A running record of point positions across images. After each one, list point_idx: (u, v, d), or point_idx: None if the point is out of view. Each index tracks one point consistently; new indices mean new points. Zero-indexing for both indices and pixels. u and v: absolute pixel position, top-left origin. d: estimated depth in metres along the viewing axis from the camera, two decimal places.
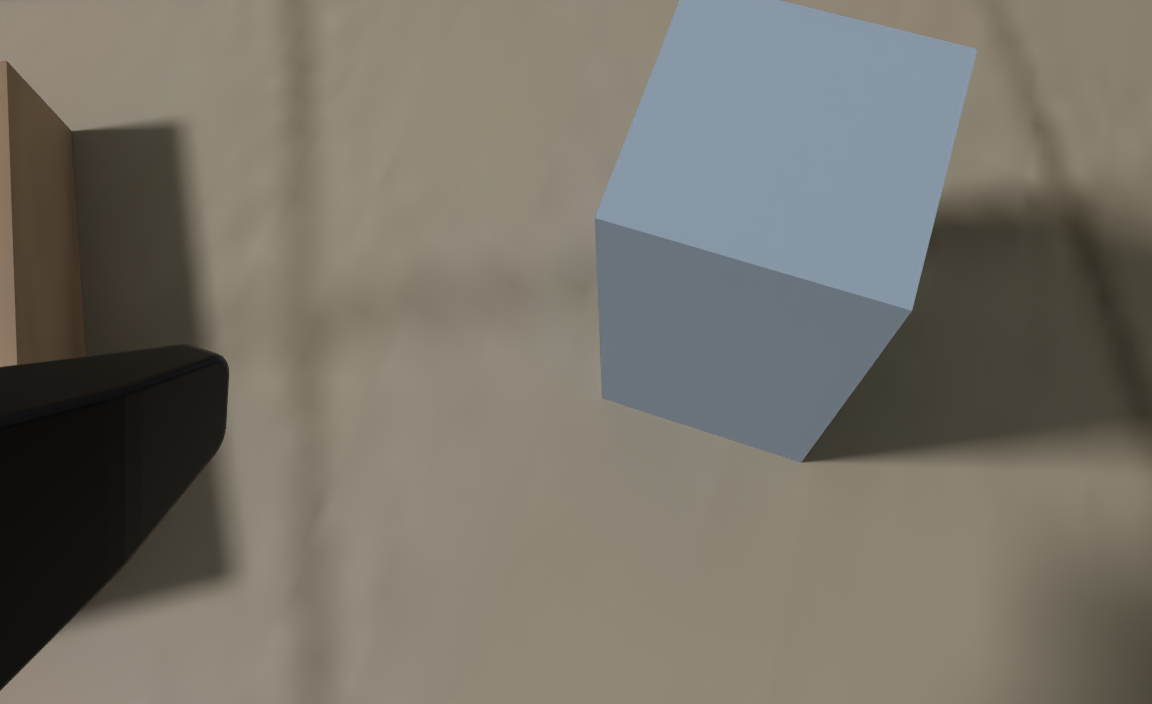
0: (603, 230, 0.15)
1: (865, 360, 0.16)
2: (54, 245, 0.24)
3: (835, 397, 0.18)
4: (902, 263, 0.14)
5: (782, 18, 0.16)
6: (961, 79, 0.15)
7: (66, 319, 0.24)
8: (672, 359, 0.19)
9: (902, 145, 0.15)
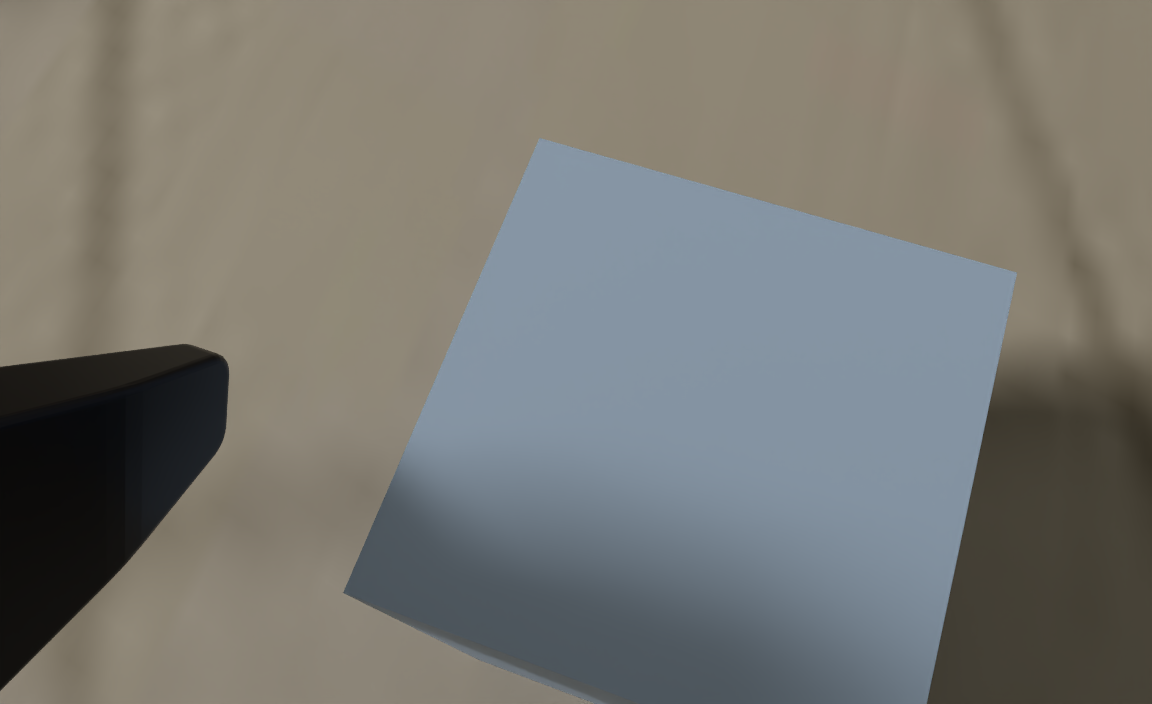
0: (366, 602, 0.09)
1: None
2: None
3: None
4: (888, 701, 0.08)
5: (690, 212, 0.10)
6: (990, 329, 0.09)
7: None
8: (546, 680, 0.13)
9: (889, 455, 0.09)
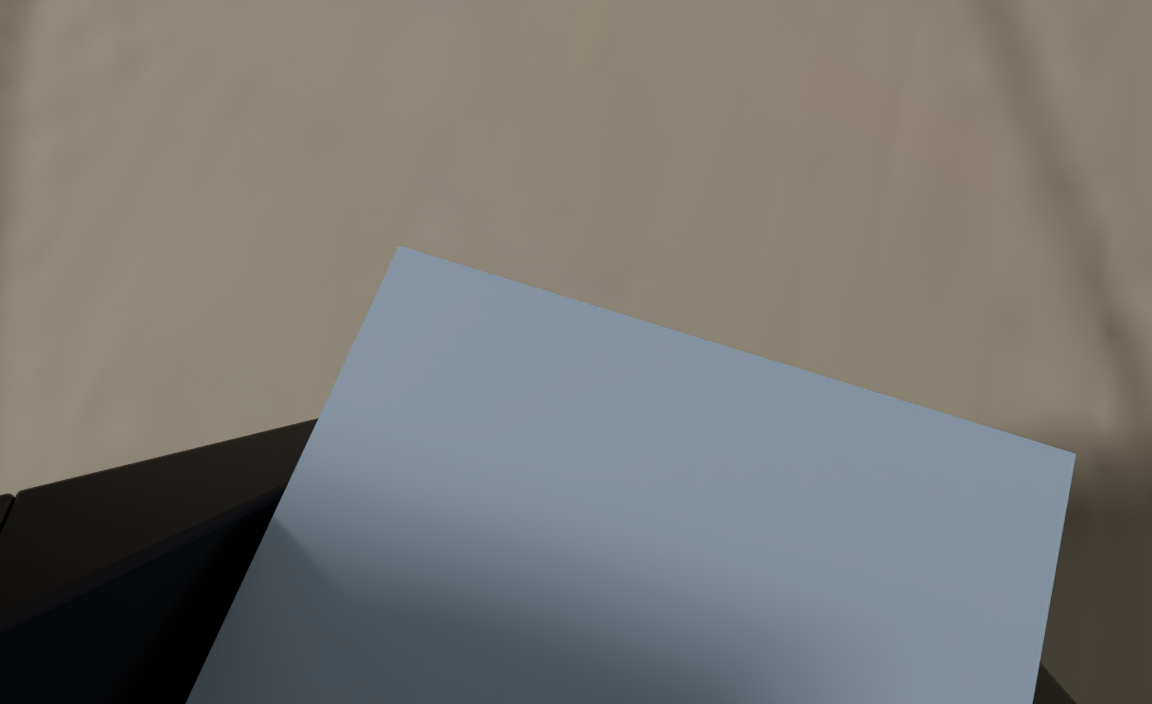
0: None
1: None
2: None
3: None
4: None
5: (606, 357, 0.07)
6: (1039, 545, 0.06)
7: None
8: None
9: None
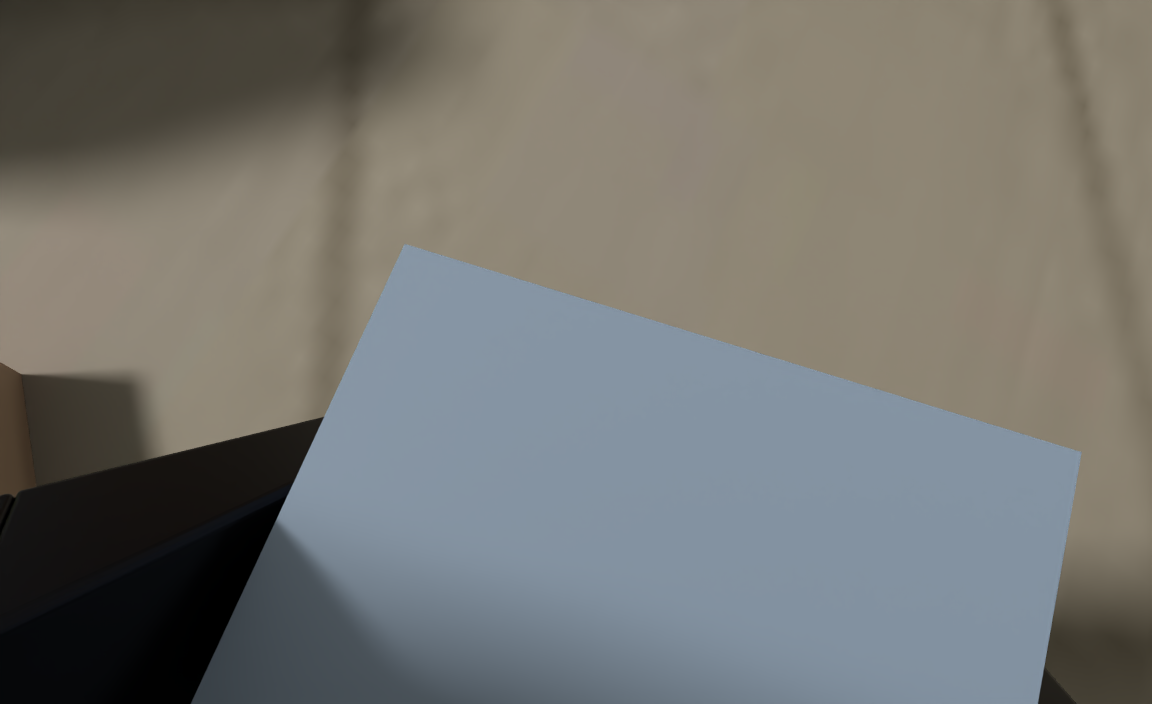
0: None
1: None
2: None
3: None
4: None
5: (611, 355, 0.07)
6: (1045, 543, 0.06)
7: None
8: None
9: None
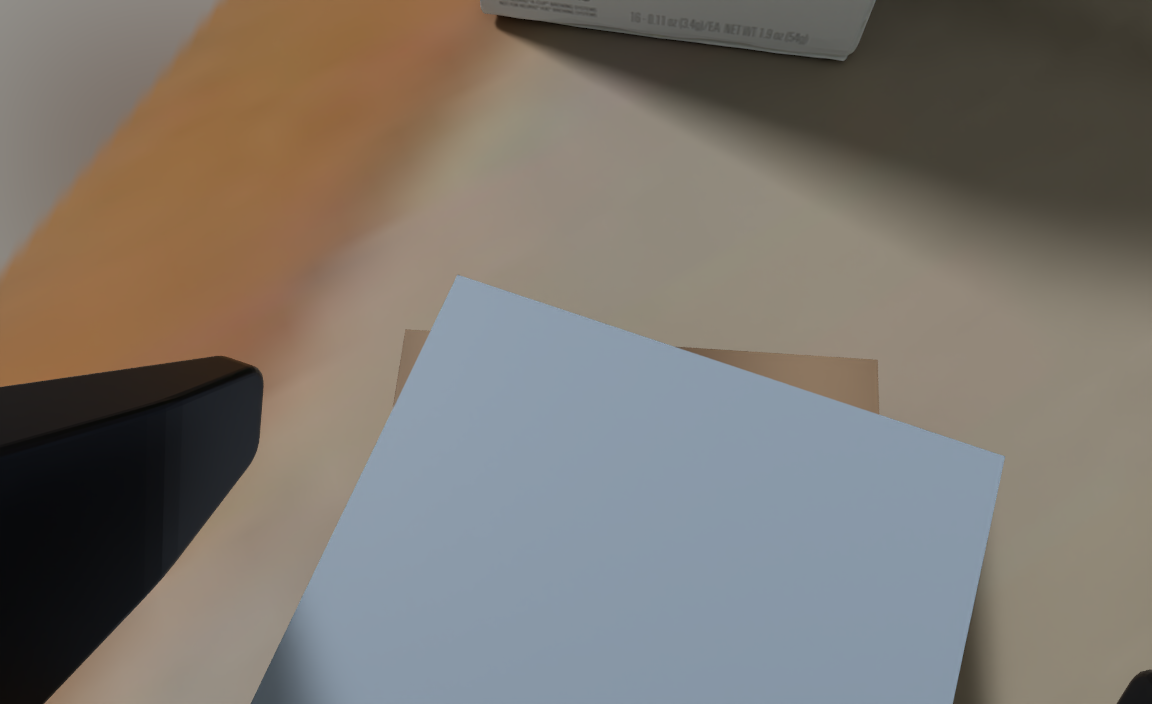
0: None
1: None
2: None
3: None
4: None
5: (626, 370, 0.08)
6: (973, 527, 0.08)
7: None
8: None
9: (848, 685, 0.07)
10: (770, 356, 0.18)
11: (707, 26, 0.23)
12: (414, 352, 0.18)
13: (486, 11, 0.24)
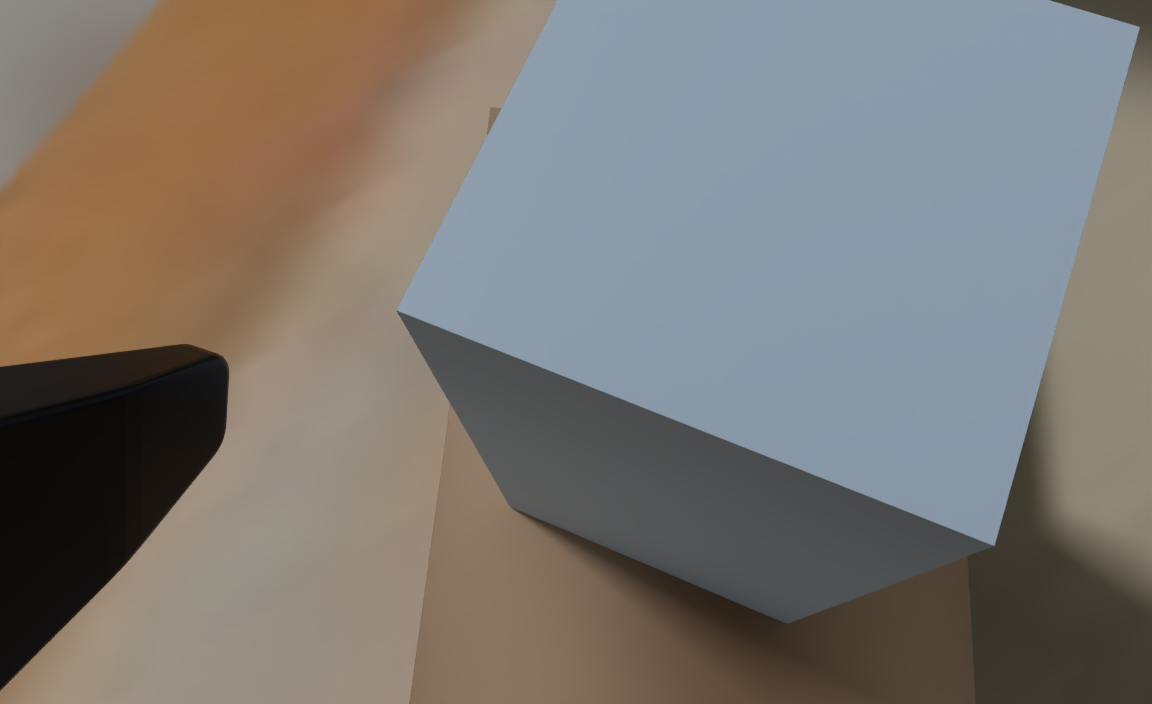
0: (419, 330, 0.08)
1: (892, 572, 0.09)
2: None
3: (838, 590, 0.11)
4: (979, 444, 0.07)
5: None
6: (1108, 82, 0.08)
7: None
8: (588, 497, 0.12)
9: (991, 202, 0.08)
10: None
11: None
12: None
13: None
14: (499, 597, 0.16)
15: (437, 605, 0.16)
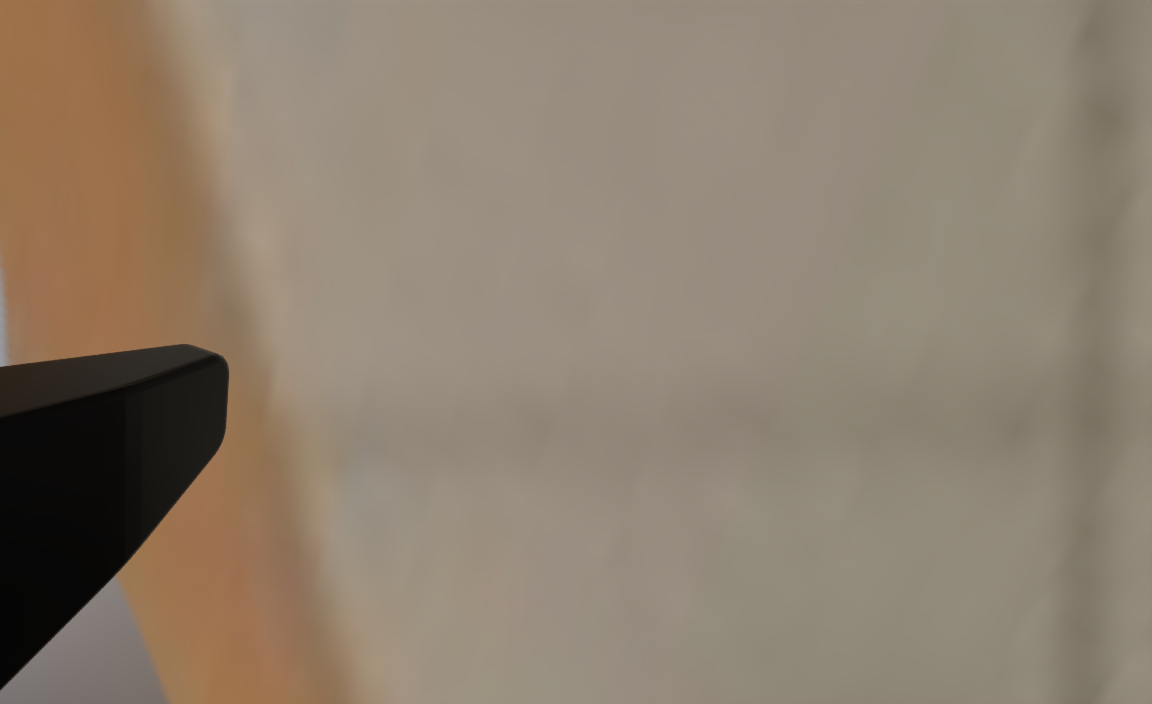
0: None
1: None
2: None
3: None
4: None
5: None
6: None
7: None
8: None
9: None
10: None
11: None
12: None
13: None
14: None
15: None
